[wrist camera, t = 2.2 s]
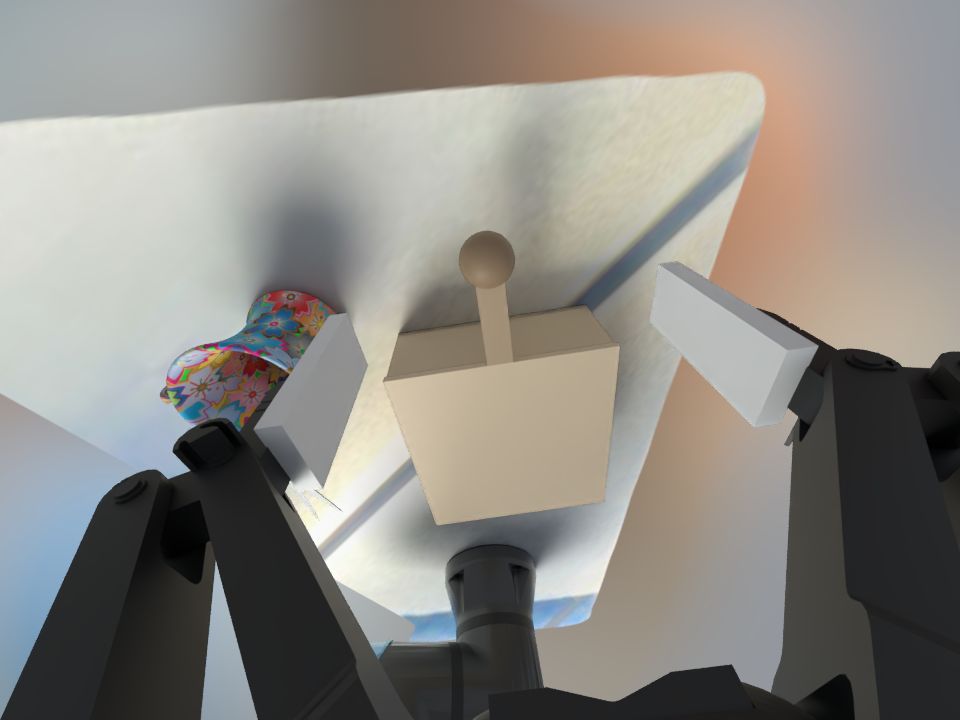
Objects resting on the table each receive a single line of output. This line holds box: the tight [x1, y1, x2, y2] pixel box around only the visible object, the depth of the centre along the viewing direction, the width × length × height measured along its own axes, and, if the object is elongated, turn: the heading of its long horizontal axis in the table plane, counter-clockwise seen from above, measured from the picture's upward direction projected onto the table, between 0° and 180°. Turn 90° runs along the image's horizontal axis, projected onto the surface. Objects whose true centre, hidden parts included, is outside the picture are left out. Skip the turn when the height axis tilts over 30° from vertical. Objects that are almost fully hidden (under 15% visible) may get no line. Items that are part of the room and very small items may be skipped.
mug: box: [160, 290, 336, 431], centre depth 28 cm, size 12×9×11 cm
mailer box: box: [387, 305, 614, 377], centre depth 35 cm, size 20×18×7 cm
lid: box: [383, 231, 620, 525], centre depth 29 cm, size 30×18×4 cm, turn 8°
